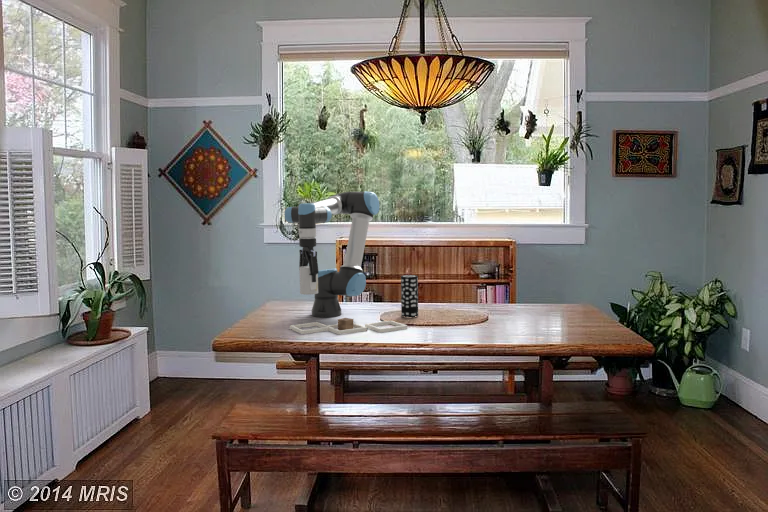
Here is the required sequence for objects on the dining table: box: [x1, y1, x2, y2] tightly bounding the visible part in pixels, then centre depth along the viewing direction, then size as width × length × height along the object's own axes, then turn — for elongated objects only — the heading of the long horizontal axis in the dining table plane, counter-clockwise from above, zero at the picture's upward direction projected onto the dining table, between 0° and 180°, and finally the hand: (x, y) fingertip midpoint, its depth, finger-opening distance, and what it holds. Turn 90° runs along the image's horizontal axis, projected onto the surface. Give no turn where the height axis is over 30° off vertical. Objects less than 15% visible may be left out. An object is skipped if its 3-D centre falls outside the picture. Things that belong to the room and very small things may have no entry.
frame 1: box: [289, 321, 330, 335], centre depth 307 cm, size 14×14×2 cm
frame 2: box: [325, 322, 368, 335], centre depth 305 cm, size 14×14×2 cm
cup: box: [298, 265, 318, 296], centre depth 305 cm, size 8×8×12 cm
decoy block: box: [337, 317, 355, 330], centre depth 305 cm, size 5×5×5 cm
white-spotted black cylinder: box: [400, 274, 419, 318], centre depth 334 cm, size 8×8×20 cm
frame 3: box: [364, 320, 408, 333], centre depth 308 cm, size 14×14×2 cm
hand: (309, 288), depth 306 cm, fingers closed on cup, 8 cm apart
